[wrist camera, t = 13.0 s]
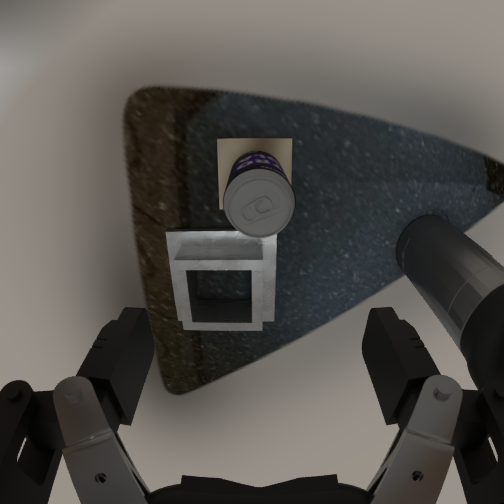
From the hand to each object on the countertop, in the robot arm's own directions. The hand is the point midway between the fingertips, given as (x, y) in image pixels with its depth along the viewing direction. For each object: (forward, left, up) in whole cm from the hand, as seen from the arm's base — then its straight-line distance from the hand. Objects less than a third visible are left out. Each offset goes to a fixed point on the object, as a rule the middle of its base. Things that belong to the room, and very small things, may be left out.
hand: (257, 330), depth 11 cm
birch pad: (0, 0, -27) cm, 27 cm away
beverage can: (0, 0, -26) cm, 26 cm away
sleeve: (+4, +13, -27) cm, 30 cm away
